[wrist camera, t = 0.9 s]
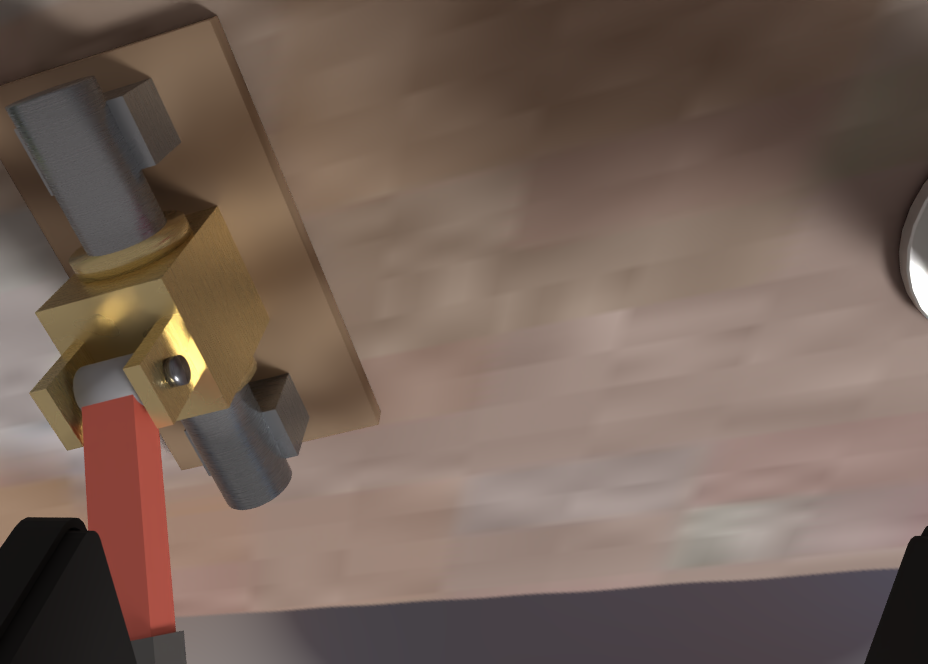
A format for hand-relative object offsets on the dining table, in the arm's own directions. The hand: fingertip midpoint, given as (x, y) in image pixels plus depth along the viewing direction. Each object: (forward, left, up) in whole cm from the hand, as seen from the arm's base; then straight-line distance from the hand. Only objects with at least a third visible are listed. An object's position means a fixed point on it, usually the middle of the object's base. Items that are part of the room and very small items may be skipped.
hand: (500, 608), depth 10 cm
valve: (+12, +13, -30) cm, 35 cm away
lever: (+9, +18, -16) cm, 26 cm away
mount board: (+12, +13, -31) cm, 36 cm away
